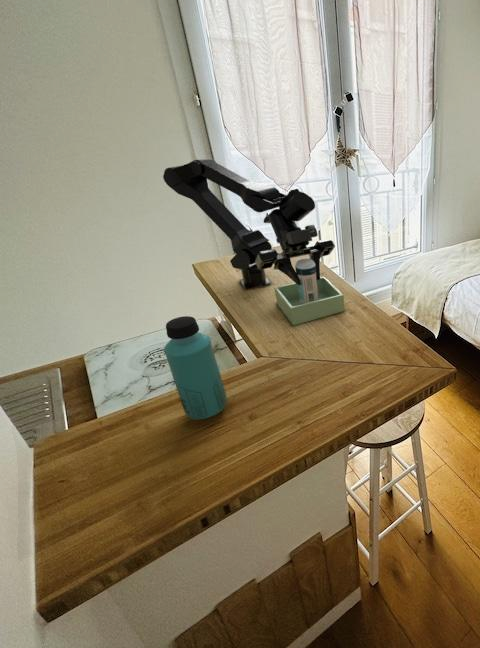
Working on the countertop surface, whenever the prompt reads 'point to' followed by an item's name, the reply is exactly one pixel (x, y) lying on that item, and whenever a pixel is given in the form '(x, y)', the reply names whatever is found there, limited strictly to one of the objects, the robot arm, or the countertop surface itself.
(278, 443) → the countertop surface
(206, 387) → the beverage bottle
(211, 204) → the robot arm
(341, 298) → the bin
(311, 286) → the labeled cylindrical canister
